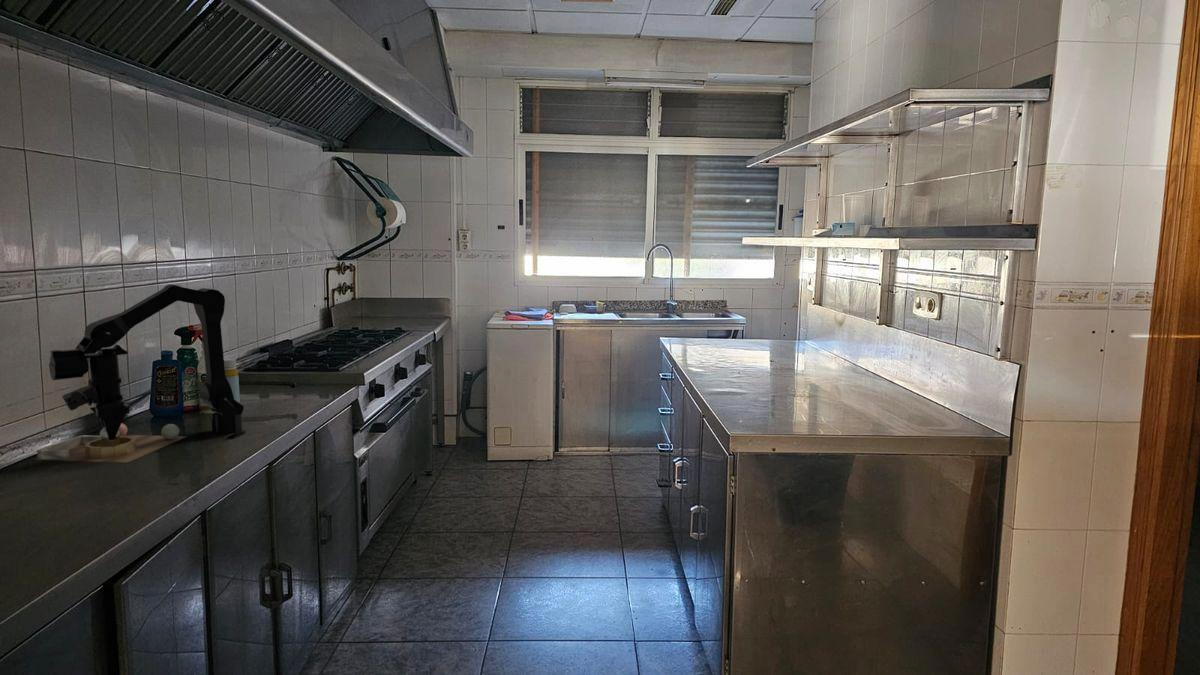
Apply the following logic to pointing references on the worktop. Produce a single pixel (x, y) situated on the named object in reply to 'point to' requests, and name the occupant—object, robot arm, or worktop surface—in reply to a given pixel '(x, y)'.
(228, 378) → the bottle
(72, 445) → the board
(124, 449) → the race ring
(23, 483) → the worktop surface
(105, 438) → the steel ball
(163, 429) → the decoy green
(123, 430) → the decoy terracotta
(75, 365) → the robot arm
